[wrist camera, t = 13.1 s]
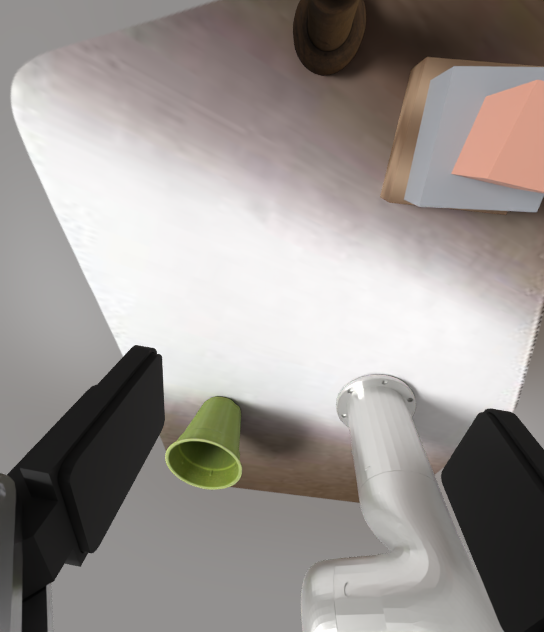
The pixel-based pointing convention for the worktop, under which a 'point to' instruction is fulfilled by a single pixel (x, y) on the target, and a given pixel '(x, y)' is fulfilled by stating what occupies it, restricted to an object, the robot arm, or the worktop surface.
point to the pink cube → (507, 140)
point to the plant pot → (209, 447)
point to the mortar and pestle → (328, 33)
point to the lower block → (411, 125)
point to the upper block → (462, 141)
